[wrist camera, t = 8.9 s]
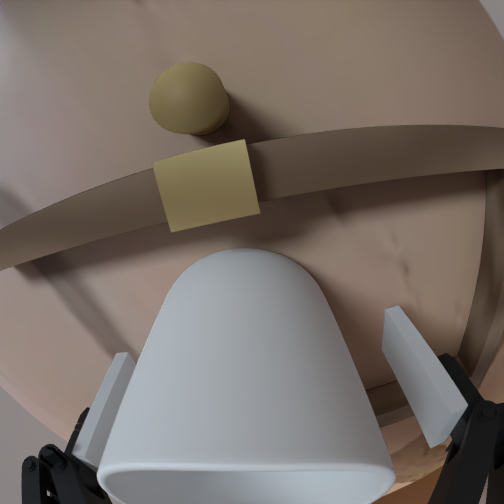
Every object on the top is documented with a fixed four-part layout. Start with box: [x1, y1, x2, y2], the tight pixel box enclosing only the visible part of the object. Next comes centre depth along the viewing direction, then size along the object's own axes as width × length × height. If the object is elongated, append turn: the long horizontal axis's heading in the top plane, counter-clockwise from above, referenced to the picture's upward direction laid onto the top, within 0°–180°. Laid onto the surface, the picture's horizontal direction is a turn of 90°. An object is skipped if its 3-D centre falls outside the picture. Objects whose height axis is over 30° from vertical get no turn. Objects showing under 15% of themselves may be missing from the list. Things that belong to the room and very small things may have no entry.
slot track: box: [0, 62, 504, 428], centre depth 13 cm, size 22×32×3 cm
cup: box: [97, 248, 396, 504], centre depth 10 cm, size 8×12×10 cm
